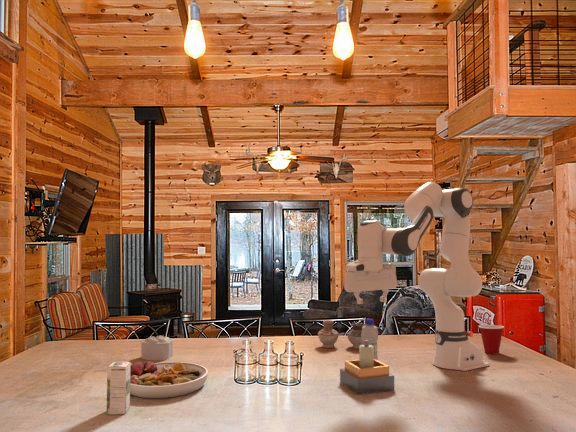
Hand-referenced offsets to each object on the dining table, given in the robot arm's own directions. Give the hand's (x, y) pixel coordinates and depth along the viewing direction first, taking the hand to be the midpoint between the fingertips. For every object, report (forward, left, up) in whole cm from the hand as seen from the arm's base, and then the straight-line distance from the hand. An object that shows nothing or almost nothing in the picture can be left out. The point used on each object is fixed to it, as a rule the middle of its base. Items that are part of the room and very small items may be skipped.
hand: (371, 302), depth 184 cm
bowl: (+71, -21, -29) cm, 80 cm away
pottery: (-14, -52, -29) cm, 61 cm away
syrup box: (+87, 0, -29) cm, 92 cm away
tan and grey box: (+4, +4, -29) cm, 29 cm away
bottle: (-7, -14, -29) cm, 33 cm away
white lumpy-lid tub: (+71, -63, -29) cm, 99 cm away
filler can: (+4, +4, -24) cm, 24 cm away
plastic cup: (-71, -20, -29) cm, 79 cm away
